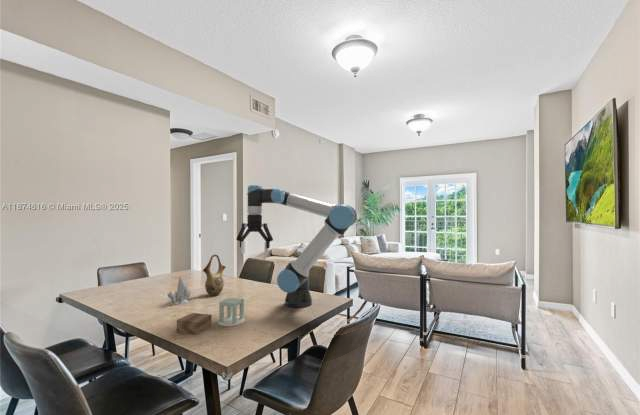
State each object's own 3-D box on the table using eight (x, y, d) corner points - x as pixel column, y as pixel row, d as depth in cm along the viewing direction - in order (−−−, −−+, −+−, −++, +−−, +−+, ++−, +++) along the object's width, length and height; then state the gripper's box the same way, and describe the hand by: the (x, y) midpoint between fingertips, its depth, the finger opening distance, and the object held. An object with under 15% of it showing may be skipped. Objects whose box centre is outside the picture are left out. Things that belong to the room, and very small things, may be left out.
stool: (243, 317, 145) (243, 298, 146) (234, 323, 138) (235, 303, 138) (228, 316, 148) (228, 297, 148) (219, 322, 140) (219, 302, 140)
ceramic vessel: (208, 299, 180) (208, 256, 180) (198, 296, 185) (198, 255, 185) (229, 293, 194) (230, 253, 194) (220, 291, 199) (220, 252, 199)
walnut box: (211, 325, 137) (211, 314, 137) (197, 334, 128) (197, 322, 128) (192, 323, 140) (192, 312, 140) (176, 332, 130) (176, 320, 130)
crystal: (161, 305, 168) (162, 278, 168) (179, 299, 180) (179, 273, 180) (176, 307, 165) (176, 279, 165) (193, 300, 177) (193, 274, 178)
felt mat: (249, 318, 147) (249, 316, 147) (236, 327, 135) (236, 325, 135) (227, 316, 150) (227, 314, 150) (212, 325, 138) (212, 323, 138)
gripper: (279, 214, 164) (279, 253, 164) (237, 214, 170) (237, 252, 170) (273, 214, 157) (273, 255, 156) (230, 214, 163) (229, 254, 163)
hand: (254, 254), depth 163 cm, fingers open, 13 cm apart
